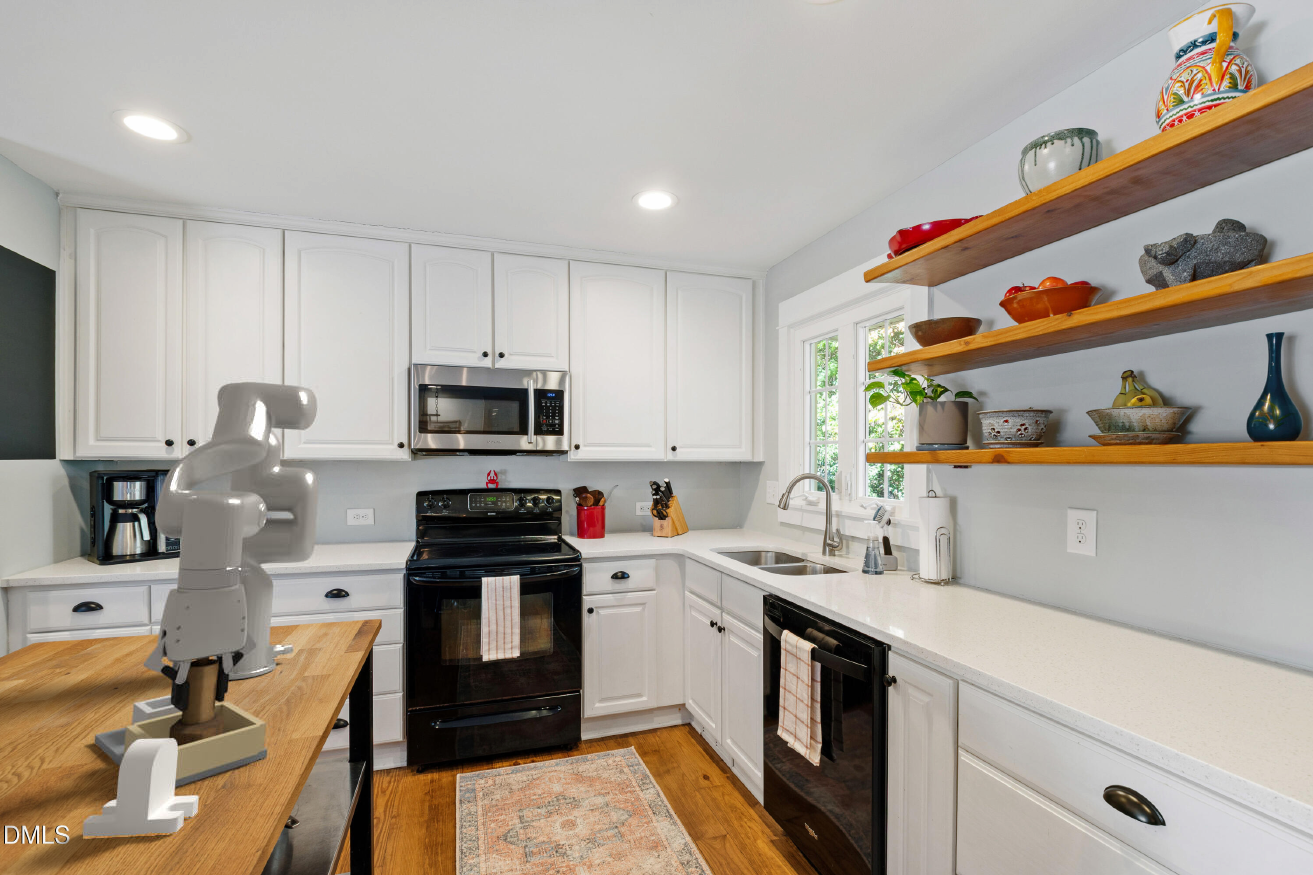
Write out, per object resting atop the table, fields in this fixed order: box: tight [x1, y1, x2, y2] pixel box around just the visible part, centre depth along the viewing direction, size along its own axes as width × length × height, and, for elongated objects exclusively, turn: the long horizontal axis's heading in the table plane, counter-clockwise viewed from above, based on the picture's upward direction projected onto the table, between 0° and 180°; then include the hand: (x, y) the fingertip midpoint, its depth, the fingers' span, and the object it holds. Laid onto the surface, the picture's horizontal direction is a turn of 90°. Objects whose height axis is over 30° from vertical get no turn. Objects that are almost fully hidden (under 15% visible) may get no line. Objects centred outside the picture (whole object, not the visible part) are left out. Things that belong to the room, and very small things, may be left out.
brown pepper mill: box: [169, 657, 224, 746], centre depth 92 cm, size 7×6×18 cm
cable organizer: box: [82, 738, 199, 836], centre depth 76 cm, size 5×10×10 cm, turn 100°
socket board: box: [94, 694, 268, 788], centre depth 94 cm, size 14×24×5 cm, turn 55°
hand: (199, 702), depth 92 cm, fingers closed on brown pepper mill, 4 cm apart
